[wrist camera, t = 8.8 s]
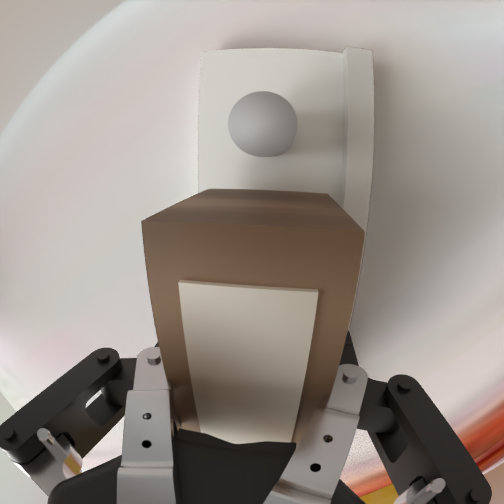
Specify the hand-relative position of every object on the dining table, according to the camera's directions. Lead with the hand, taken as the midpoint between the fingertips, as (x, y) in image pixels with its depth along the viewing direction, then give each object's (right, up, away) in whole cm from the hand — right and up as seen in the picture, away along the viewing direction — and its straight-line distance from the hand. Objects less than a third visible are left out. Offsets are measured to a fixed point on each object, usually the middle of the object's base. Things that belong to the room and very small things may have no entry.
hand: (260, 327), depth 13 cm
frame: (0, 0, +1) cm, 1 cm away
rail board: (+1, +1, +4) cm, 4 cm away
